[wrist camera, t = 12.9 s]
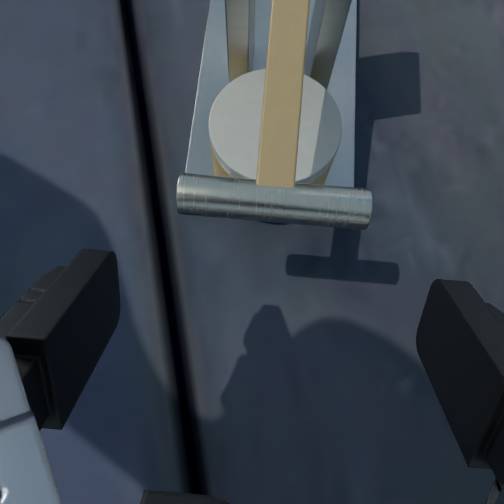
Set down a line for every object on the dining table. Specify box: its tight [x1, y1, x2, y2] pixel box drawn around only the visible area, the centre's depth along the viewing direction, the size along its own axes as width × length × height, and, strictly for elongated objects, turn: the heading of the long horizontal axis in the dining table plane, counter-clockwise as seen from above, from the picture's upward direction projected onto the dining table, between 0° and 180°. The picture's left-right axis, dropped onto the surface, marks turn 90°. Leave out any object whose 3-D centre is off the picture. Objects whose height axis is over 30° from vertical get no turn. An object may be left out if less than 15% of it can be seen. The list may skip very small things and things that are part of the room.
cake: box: [208, 69, 343, 185], centre depth 21 cm, size 6×6×4 cm
